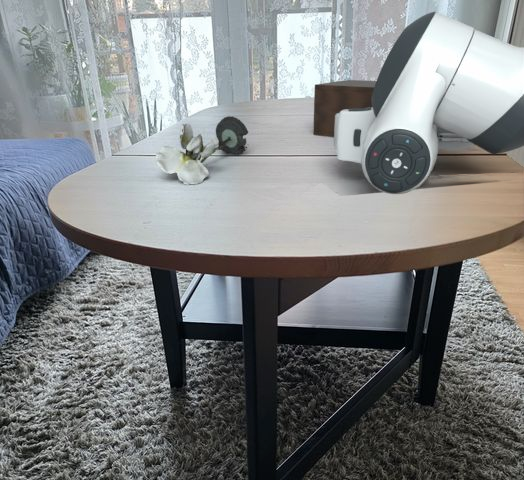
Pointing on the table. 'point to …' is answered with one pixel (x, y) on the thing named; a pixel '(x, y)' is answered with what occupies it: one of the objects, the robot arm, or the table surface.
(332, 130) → the cabinet
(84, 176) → the table surface
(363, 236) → the table surface
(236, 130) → the artificial flower
